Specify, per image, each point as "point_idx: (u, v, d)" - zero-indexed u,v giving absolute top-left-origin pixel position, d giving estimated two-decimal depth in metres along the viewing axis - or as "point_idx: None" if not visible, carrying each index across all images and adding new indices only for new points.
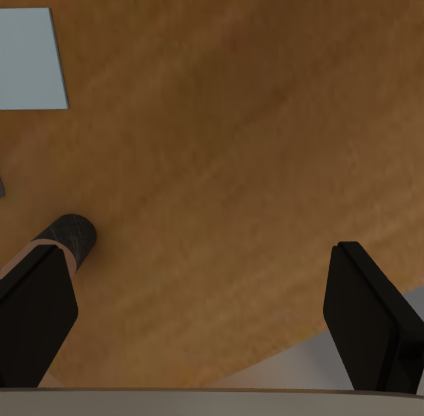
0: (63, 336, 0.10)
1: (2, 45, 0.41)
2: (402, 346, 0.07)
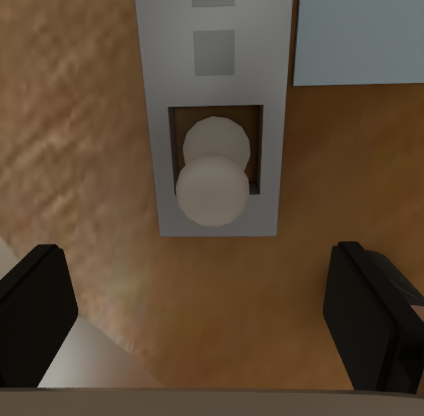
0: (63, 336, 0.10)
1: None
2: (402, 346, 0.07)
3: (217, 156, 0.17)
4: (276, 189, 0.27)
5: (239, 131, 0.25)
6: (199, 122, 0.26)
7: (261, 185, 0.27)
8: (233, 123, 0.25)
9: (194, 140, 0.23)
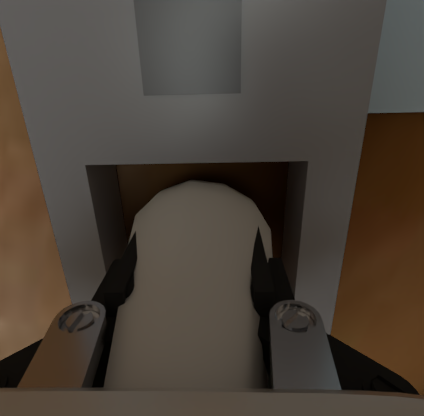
0: None
1: None
2: (256, 306, 0.08)
3: None
4: (325, 323, 0.13)
5: (251, 222, 0.11)
6: (161, 196, 0.11)
7: None
8: (237, 199, 0.11)
9: (139, 261, 0.09)
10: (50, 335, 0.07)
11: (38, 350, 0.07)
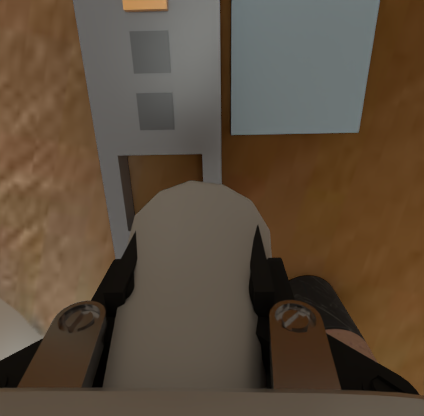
0: None
1: (291, 38, 0.26)
2: (257, 306, 0.08)
3: None
4: None
5: (250, 223, 0.11)
6: (160, 197, 0.11)
7: None
8: (236, 200, 0.11)
9: (138, 262, 0.09)
10: (50, 335, 0.07)
11: (38, 350, 0.07)
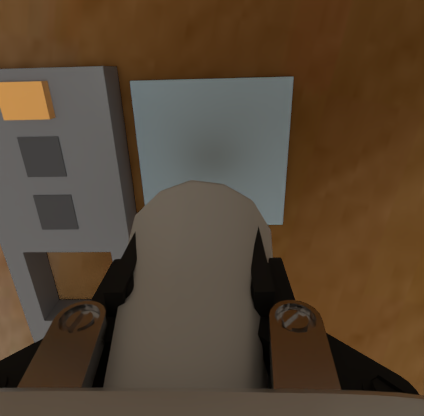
0: None
1: (200, 134, 0.24)
2: (256, 306, 0.08)
3: None
4: None
5: (251, 223, 0.11)
6: (160, 197, 0.11)
7: None
8: (237, 200, 0.11)
9: (138, 262, 0.09)
10: (50, 335, 0.07)
11: (38, 350, 0.07)
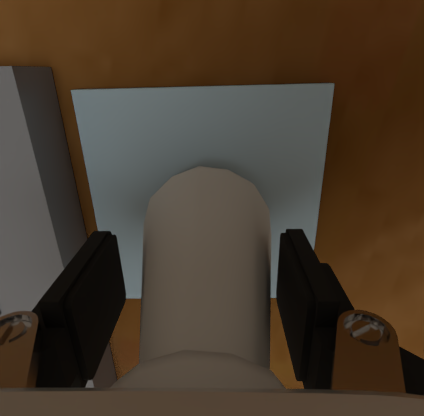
0: (117, 316, 0.11)
1: None
2: (319, 316, 0.08)
3: None
4: None
5: (253, 201, 0.12)
6: (173, 181, 0.13)
7: None
8: (239, 182, 0.13)
9: (159, 233, 0.11)
10: None
11: None
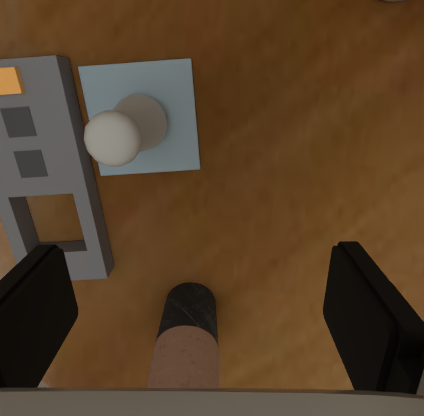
0: (63, 336, 0.10)
1: None
2: (402, 346, 0.07)
3: (111, 111, 0.23)
4: (97, 246, 0.39)
5: (152, 103, 0.31)
6: (121, 99, 0.32)
7: (86, 244, 0.38)
8: (148, 98, 0.32)
9: (112, 111, 0.29)
10: None
11: None
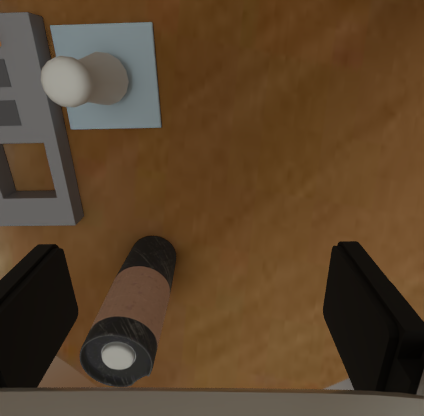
0: (63, 336, 0.10)
1: None
2: (402, 346, 0.07)
3: (65, 56, 0.27)
4: (66, 194, 0.43)
5: (112, 60, 0.35)
6: None
7: (56, 192, 0.43)
8: (110, 56, 0.35)
9: None
10: None
11: None
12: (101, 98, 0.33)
